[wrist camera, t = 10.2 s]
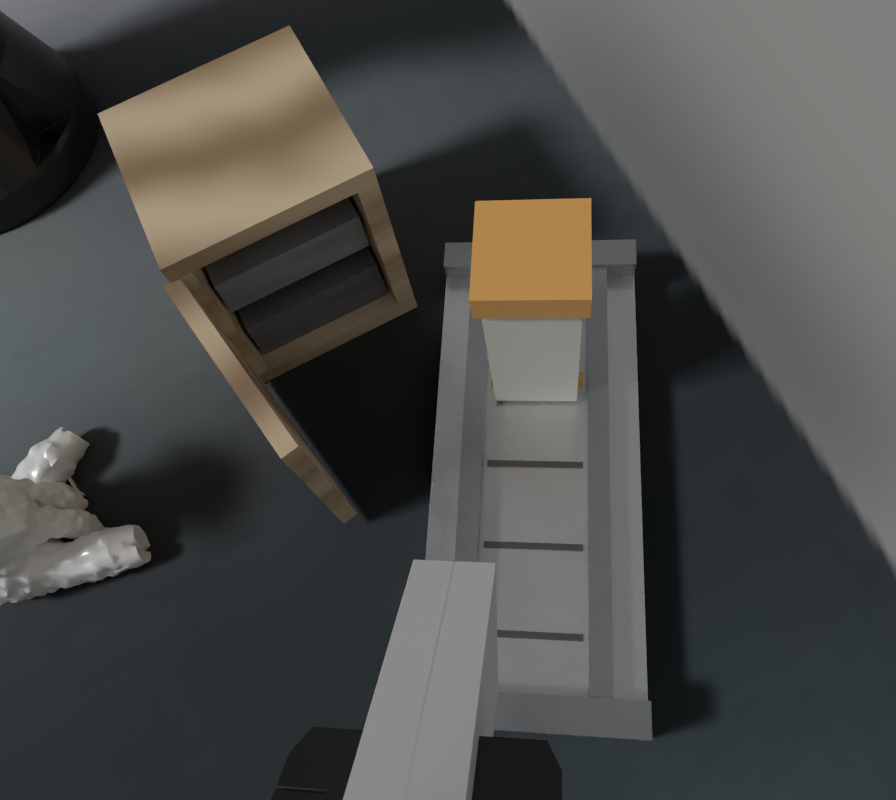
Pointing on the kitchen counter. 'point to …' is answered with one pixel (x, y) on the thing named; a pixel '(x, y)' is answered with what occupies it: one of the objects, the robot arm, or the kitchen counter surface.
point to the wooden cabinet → (262, 223)
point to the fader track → (551, 512)
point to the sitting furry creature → (57, 527)
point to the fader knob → (532, 293)
